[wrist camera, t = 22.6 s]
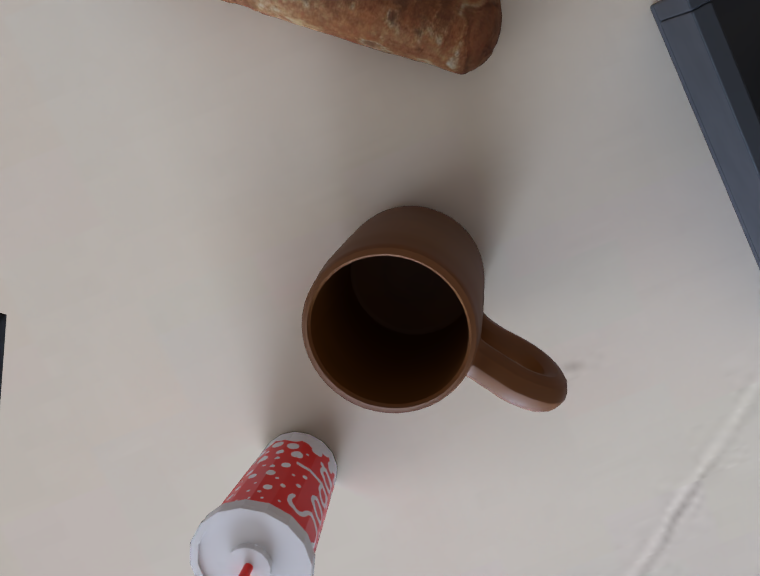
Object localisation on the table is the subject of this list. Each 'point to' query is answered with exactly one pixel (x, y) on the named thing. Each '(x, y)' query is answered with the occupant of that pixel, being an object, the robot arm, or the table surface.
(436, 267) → the mug
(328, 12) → the brown cylinder
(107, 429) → the table surface
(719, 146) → the open box
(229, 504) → the beverage cup
